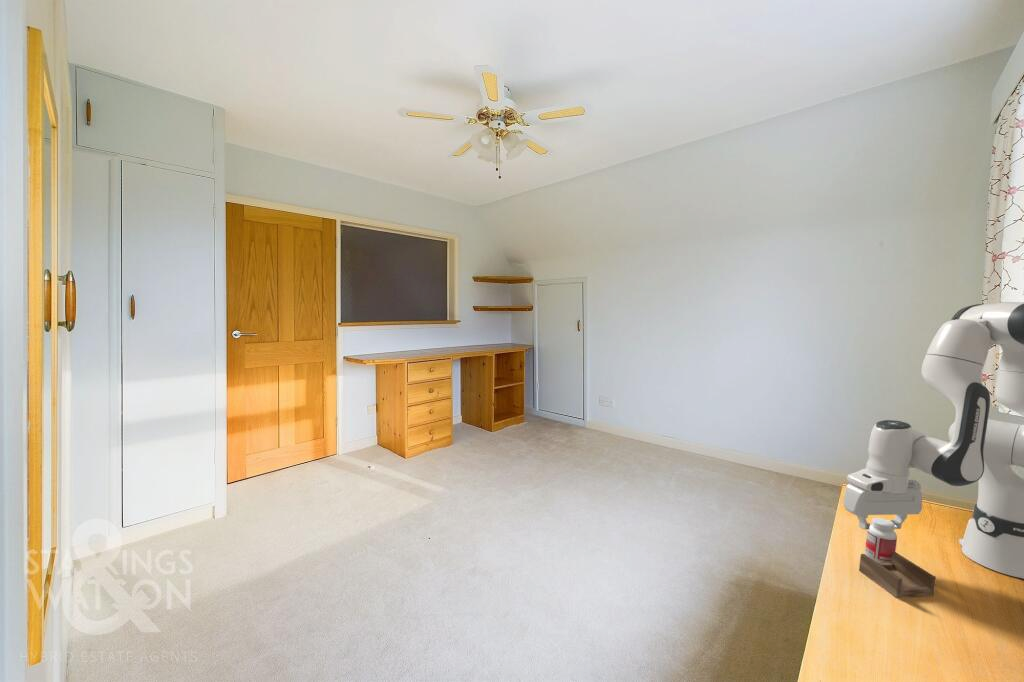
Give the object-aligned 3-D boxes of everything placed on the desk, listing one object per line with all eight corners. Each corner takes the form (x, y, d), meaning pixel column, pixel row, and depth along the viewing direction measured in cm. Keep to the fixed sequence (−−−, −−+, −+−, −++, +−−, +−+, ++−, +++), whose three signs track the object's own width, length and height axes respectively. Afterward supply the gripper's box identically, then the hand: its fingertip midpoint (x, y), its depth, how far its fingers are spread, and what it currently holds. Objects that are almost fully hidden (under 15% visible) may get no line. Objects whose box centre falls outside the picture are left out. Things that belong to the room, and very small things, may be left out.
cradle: (893, 568, 113) (895, 551, 113) (933, 595, 103) (935, 577, 103) (858, 570, 112) (860, 553, 112) (896, 597, 103) (898, 579, 102)
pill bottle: (897, 561, 116) (901, 523, 115) (889, 569, 113) (894, 530, 112) (869, 549, 122) (873, 513, 120) (861, 557, 118) (865, 520, 117)
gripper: (909, 474, 119) (902, 521, 120) (841, 475, 117) (836, 522, 119) (933, 484, 113) (926, 533, 114) (862, 485, 111) (856, 535, 112)
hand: (879, 528), depth 116 cm, fingers open, 8 cm apart
